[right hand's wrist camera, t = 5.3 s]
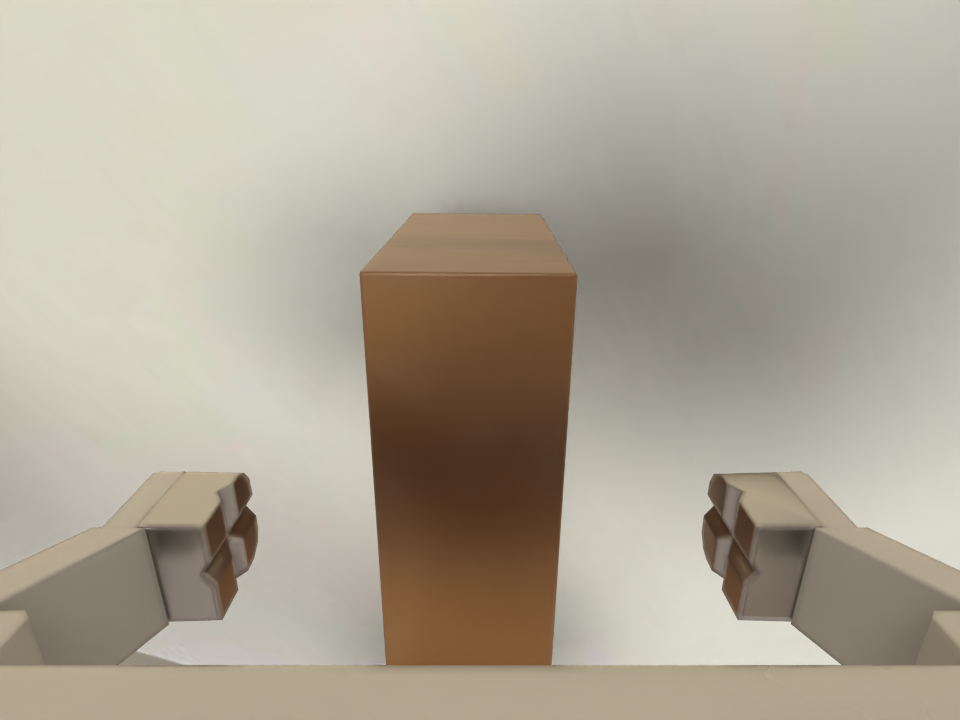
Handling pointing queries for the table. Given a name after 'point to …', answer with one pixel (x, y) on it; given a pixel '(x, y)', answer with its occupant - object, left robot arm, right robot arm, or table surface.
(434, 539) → the bar
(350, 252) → the table surface
